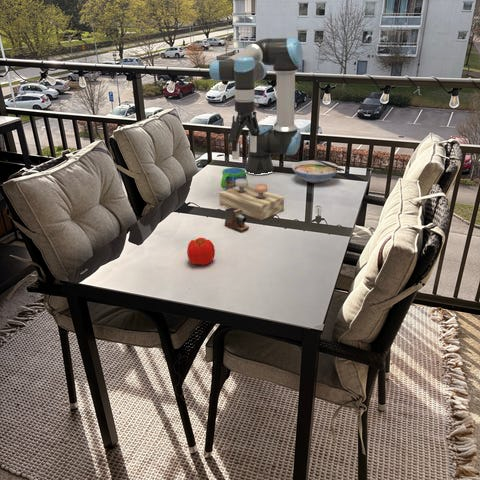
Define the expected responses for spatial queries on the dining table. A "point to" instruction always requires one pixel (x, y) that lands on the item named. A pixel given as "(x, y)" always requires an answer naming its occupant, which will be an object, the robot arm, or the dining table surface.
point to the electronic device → (235, 219)
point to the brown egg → (260, 189)
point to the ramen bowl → (315, 170)
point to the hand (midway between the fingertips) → (244, 155)
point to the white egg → (241, 184)
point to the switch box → (252, 202)
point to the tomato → (200, 251)
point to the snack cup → (232, 177)
